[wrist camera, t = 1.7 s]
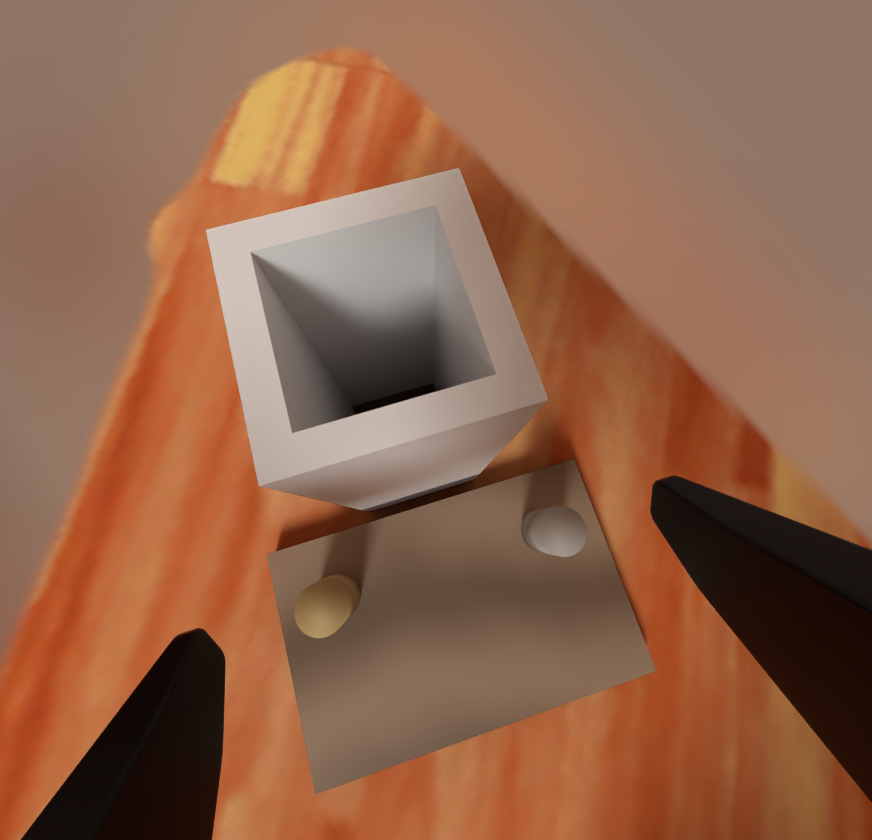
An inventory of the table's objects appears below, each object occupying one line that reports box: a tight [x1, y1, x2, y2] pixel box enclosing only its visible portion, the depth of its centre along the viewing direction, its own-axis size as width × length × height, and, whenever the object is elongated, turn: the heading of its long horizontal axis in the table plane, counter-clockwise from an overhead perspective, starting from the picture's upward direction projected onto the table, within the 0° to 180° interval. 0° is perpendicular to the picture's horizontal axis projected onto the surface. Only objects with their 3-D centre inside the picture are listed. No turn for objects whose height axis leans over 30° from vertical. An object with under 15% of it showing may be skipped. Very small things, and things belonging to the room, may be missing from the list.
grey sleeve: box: [206, 168, 548, 512], centre depth 14 cm, size 5×5×13 cm
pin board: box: [267, 459, 656, 794], centre depth 17 cm, size 9×14×4 cm, turn 107°
